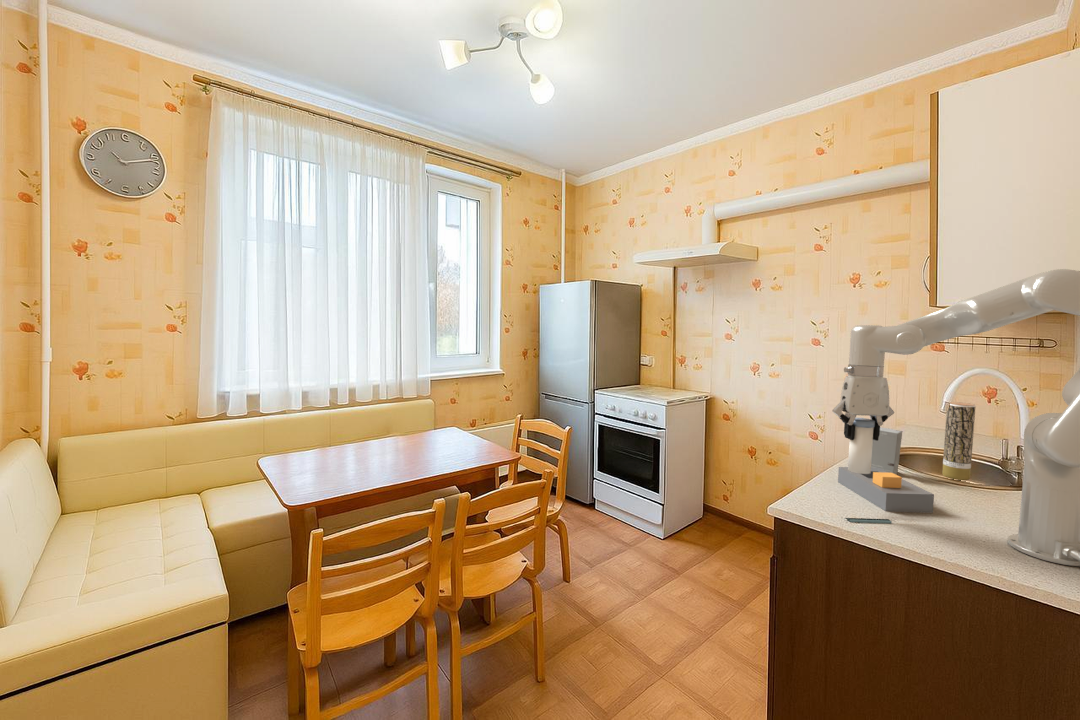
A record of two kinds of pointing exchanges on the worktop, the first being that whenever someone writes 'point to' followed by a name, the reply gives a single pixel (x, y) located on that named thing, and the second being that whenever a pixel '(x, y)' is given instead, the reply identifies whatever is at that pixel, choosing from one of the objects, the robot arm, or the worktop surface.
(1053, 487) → the robot arm
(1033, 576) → the worktop surface
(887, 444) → the skincare box
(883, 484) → the release slider
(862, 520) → the thin grey strip
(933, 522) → the worktop surface
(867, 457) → the cartridge
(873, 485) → the housing
